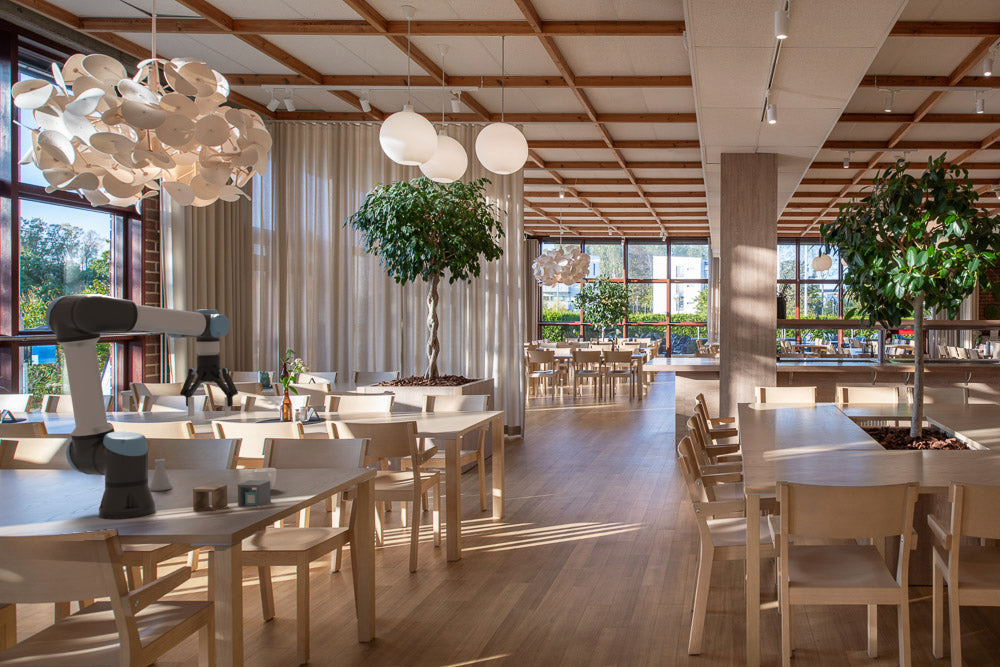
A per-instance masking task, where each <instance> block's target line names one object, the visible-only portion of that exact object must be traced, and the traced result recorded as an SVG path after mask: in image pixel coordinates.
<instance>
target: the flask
mask: <svg viewBox="0 0 1000 667" xmlns="http://www.w3.org/2000/svg"><path fill="white" fill-rule="evenodd" d="M165 462H166V459H165V458H159V459H155V460H154V463H155V468H154V474H153V476H152V478H151V479H152V480H151V483H150V485H149V489H150V491H153V492H159V491H160V492H162V491H167V490H172V489H173V485H172V483H171V480H170V479H169V475H168V473H167V470H166V466H165Z"/></svg>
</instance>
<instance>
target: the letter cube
mask: <svg viewBox="0 0 1000 667" xmlns="http://www.w3.org/2000/svg"><path fill="white" fill-rule="evenodd" d="M244 505H245V506H257V489H252V490H249V491H247V492H245V504H244Z"/></svg>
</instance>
